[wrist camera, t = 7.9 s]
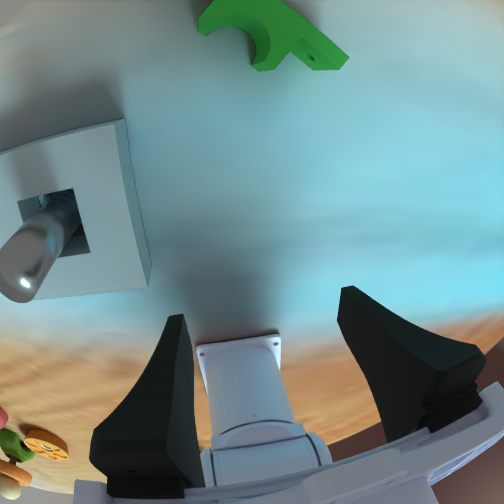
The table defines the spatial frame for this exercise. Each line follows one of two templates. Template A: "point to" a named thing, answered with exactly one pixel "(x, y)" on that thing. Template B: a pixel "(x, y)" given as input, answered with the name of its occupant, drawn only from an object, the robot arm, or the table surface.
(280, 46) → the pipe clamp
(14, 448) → the colorful stacking toy
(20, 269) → the pin
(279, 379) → the robot arm
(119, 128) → the socket board
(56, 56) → the table surface
